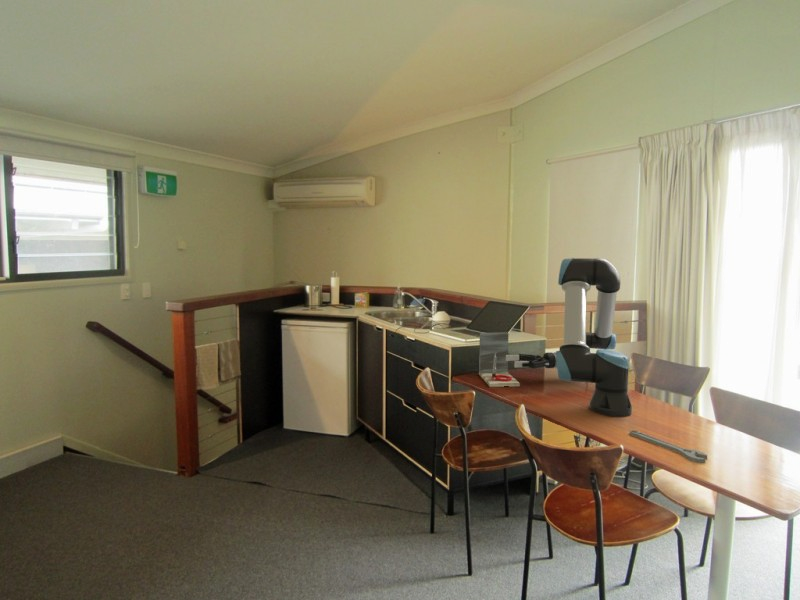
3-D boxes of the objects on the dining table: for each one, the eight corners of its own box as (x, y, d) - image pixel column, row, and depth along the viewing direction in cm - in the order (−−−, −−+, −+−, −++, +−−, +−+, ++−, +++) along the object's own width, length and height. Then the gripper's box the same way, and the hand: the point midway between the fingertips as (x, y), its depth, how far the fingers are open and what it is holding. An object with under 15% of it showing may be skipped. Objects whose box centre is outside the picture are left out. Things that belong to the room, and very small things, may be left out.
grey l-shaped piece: (519, 386, 217) (520, 340, 215) (489, 386, 217) (490, 340, 214) (506, 374, 239) (507, 332, 237) (479, 374, 238) (479, 332, 236)
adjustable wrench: (627, 435, 160) (628, 430, 160) (641, 432, 163) (641, 427, 163) (698, 465, 137) (698, 459, 137) (713, 461, 140) (713, 455, 140)
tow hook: (510, 377, 228) (491, 376, 229) (512, 351, 226) (493, 350, 228) (512, 382, 220) (492, 381, 221) (514, 355, 218) (494, 354, 219)
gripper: (564, 374, 214) (518, 375, 212) (543, 361, 239) (502, 362, 237) (564, 358, 213) (518, 359, 211) (543, 347, 238) (502, 348, 236)
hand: (510, 361), depth 224 cm, fingers open, 13 cm apart
